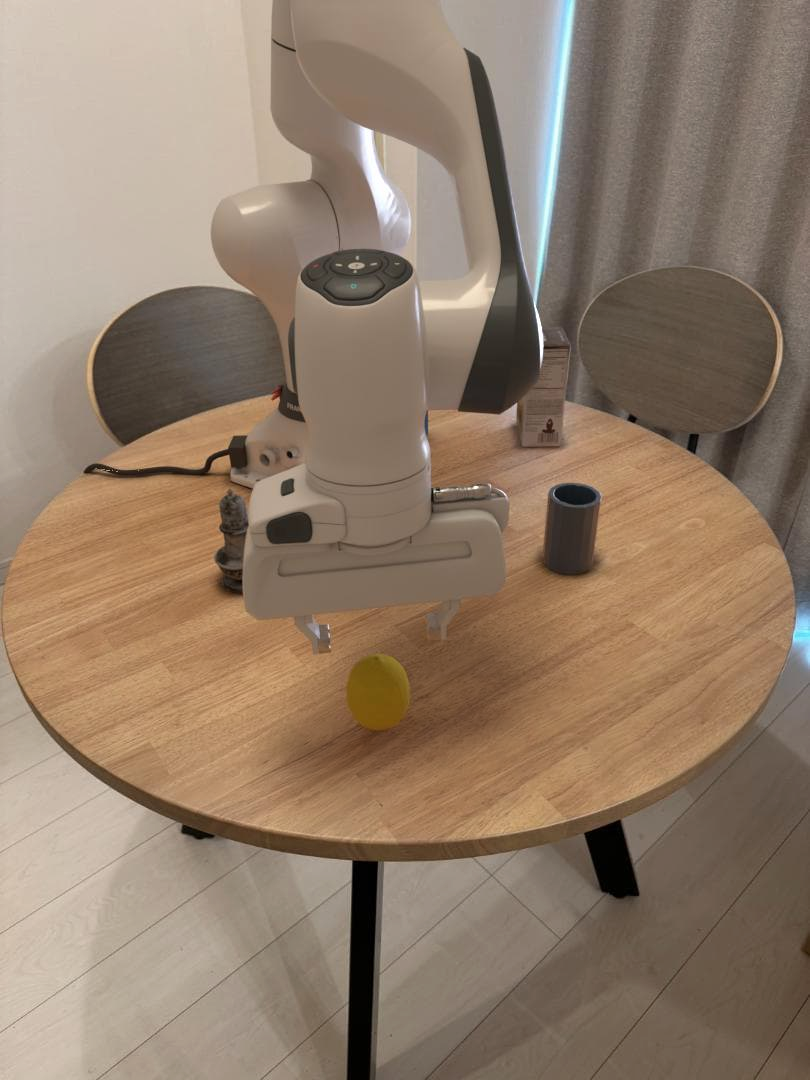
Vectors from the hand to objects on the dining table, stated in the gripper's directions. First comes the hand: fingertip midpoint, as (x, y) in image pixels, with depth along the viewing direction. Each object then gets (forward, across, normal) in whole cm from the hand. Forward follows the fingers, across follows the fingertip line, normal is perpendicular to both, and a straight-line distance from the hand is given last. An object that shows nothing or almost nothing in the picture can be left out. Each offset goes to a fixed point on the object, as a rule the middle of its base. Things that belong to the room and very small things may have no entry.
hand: (379, 642), depth 61 cm
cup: (+10, -24, -23) cm, 35 cm away
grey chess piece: (+10, +14, -25) cm, 30 cm away
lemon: (+10, 0, 0) cm, 10 cm away
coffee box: (+10, -31, -58) cm, 67 cm away
